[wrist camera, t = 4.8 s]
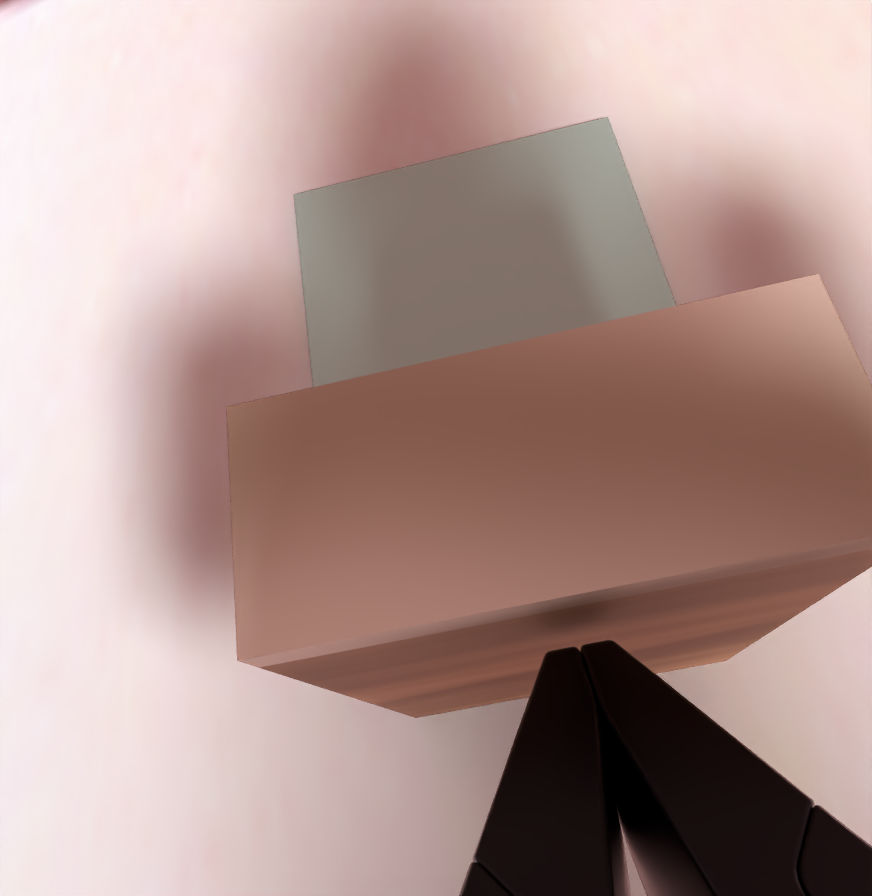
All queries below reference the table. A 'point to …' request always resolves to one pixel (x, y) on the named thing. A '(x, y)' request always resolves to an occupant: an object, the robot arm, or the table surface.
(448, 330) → the mat
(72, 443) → the table surface
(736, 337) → the slab
